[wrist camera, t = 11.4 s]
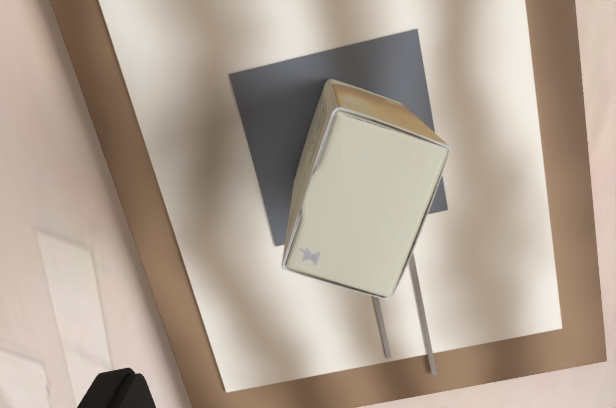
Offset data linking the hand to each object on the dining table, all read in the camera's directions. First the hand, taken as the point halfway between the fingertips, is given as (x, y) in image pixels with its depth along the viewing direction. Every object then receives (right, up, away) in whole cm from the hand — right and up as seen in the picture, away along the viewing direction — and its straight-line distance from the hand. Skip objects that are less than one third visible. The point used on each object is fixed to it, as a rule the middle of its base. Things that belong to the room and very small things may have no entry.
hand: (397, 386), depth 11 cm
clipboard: (0, +7, +22) cm, 23 cm away
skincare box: (0, +7, +21) cm, 22 cm away
